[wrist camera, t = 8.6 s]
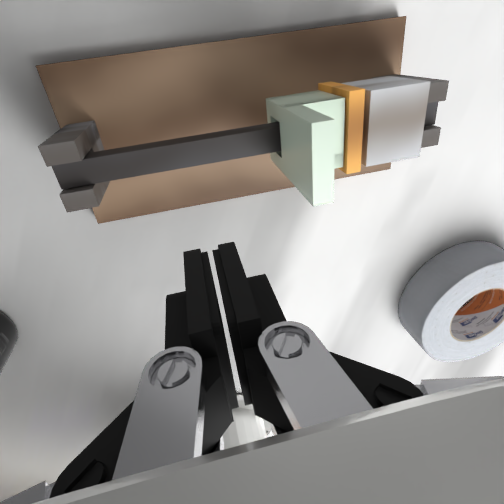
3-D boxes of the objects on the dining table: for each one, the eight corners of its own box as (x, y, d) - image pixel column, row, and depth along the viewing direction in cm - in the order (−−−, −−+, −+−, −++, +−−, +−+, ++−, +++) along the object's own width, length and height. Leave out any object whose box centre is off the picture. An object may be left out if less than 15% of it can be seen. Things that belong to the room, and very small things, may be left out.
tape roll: (453, 222, 39) (488, 243, 35) (528, 261, 45) (566, 284, 41) (374, 321, 45) (396, 350, 41) (450, 344, 51) (476, 371, 47)
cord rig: (384, 165, 33) (444, 198, 26) (100, 218, 30) (78, 272, 23) (398, 16, 27) (482, 6, 20) (40, 65, 24) (-16, 73, 17)
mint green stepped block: (319, 150, 27) (380, 193, 19) (270, 159, 27) (313, 206, 19) (319, 90, 25) (388, 110, 17) (265, 98, 24) (311, 123, 17)
